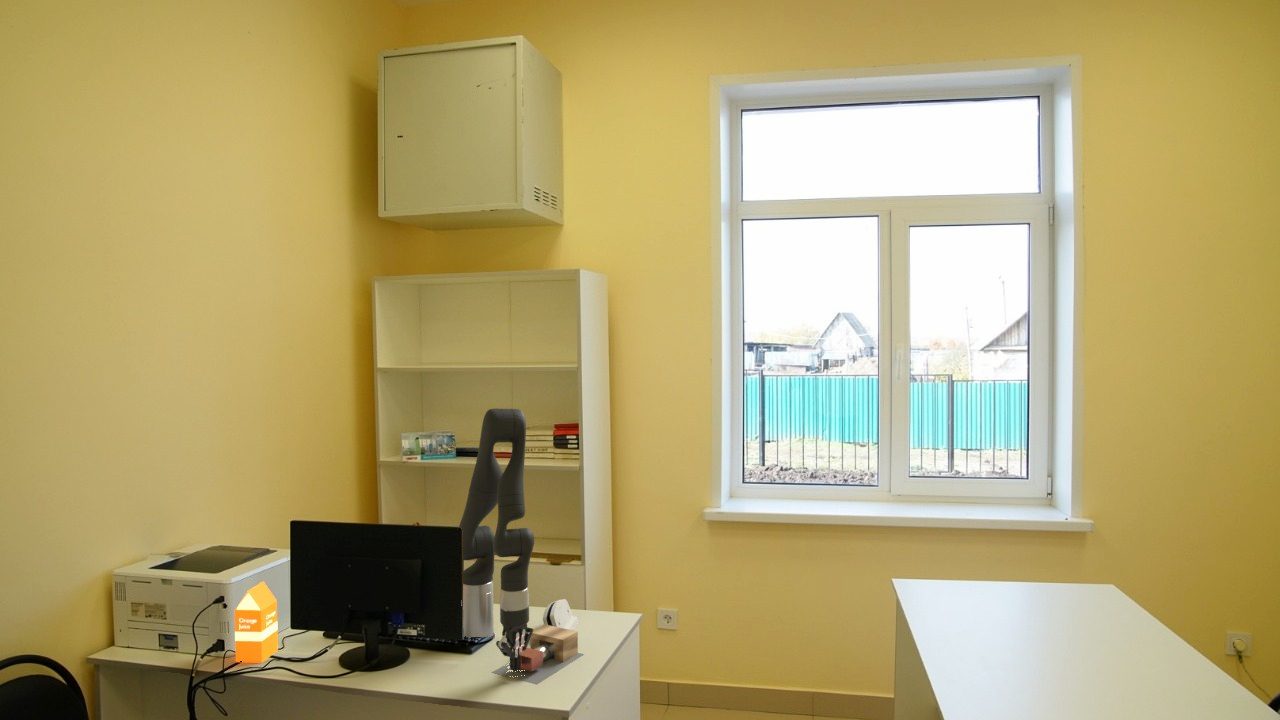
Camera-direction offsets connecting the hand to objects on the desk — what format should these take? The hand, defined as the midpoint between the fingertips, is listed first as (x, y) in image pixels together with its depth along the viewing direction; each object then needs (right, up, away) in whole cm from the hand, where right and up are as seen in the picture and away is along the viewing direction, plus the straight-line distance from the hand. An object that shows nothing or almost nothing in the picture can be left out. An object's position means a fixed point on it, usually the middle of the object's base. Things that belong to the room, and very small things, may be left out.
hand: (515, 669), depth 214 cm
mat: (+5, -2, +9) cm, 10 cm away
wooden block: (+9, -1, +15) cm, 17 cm away
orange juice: (-75, -2, +15) cm, 77 cm away
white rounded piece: (+9, -1, +33) cm, 34 cm away
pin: (+5, -1, +9) cm, 10 cm away
